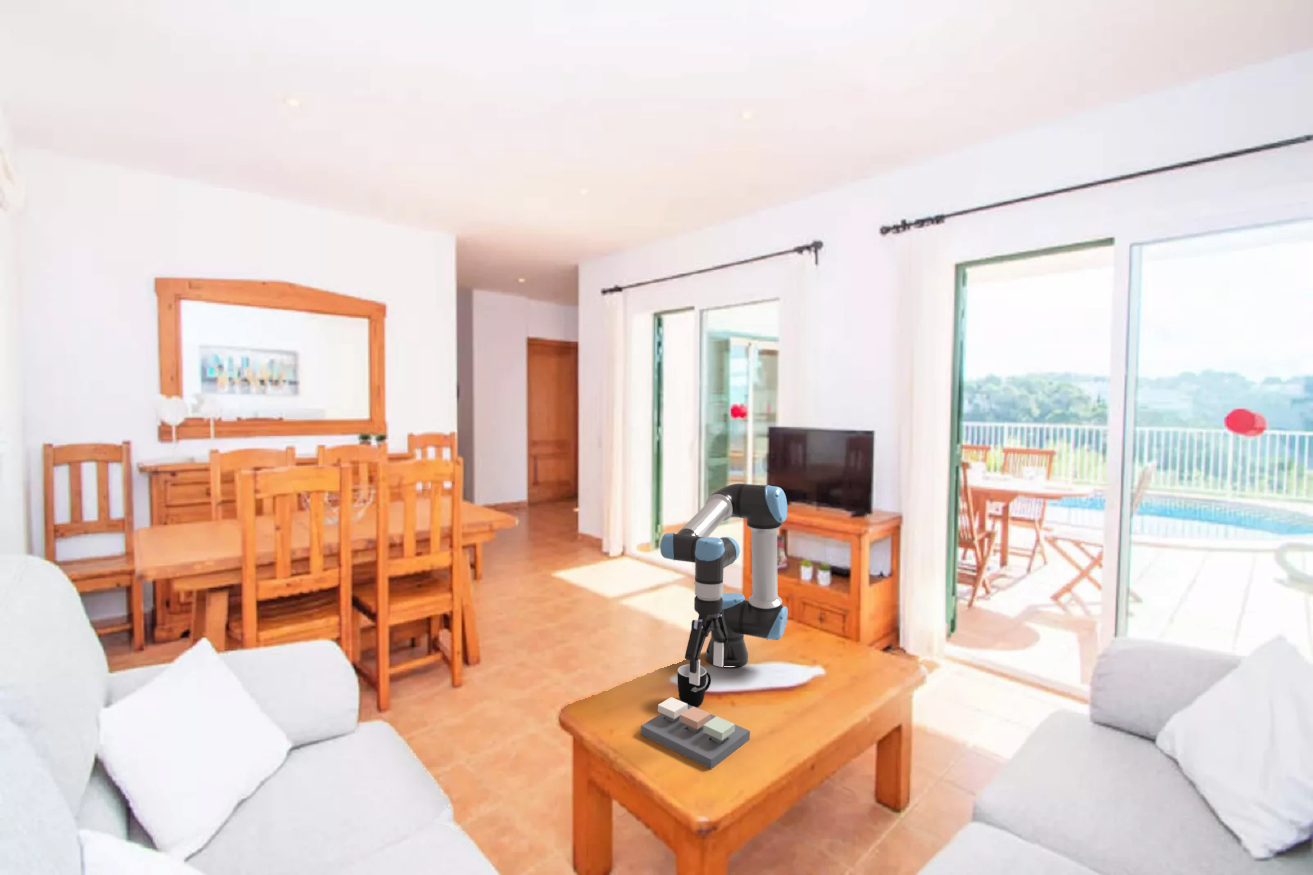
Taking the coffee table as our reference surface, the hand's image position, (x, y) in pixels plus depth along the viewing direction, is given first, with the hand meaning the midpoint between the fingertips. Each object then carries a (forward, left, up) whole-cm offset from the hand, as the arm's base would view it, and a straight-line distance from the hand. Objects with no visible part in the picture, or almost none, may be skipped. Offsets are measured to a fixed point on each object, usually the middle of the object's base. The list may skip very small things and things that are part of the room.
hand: (706, 674), depth 164 cm
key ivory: (-1, -12, -17) cm, 21 cm away
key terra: (-1, -4, -17) cm, 18 cm away
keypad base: (-1, -4, -19) cm, 20 cm away
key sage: (-1, +4, -17) cm, 18 cm away
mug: (-17, -16, -20) cm, 31 cm away
